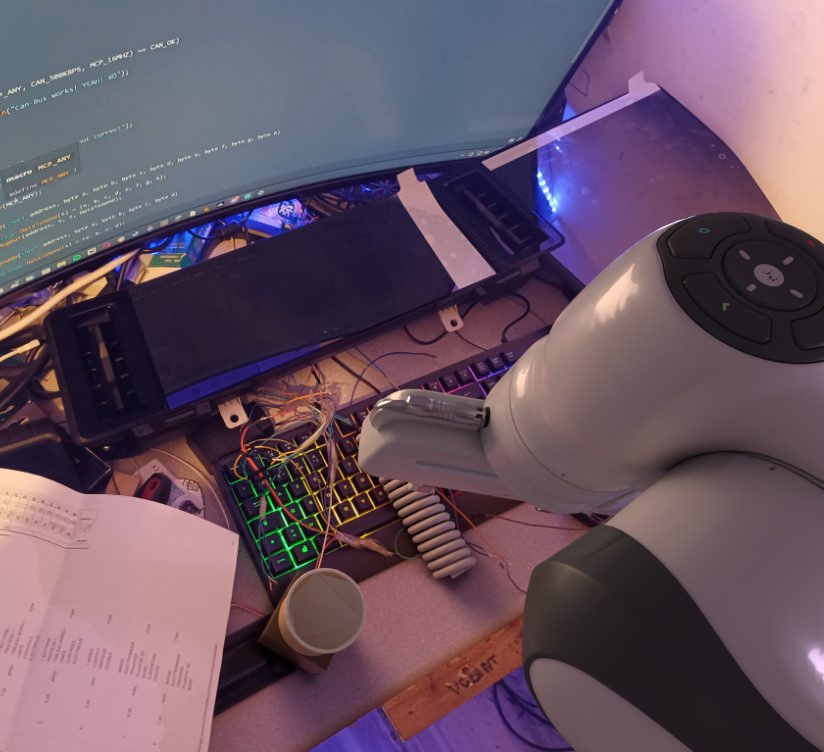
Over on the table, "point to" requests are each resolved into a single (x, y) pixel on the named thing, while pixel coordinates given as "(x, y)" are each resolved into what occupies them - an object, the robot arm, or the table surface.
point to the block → (278, 645)
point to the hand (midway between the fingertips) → (481, 491)
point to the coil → (431, 529)
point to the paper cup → (322, 613)
